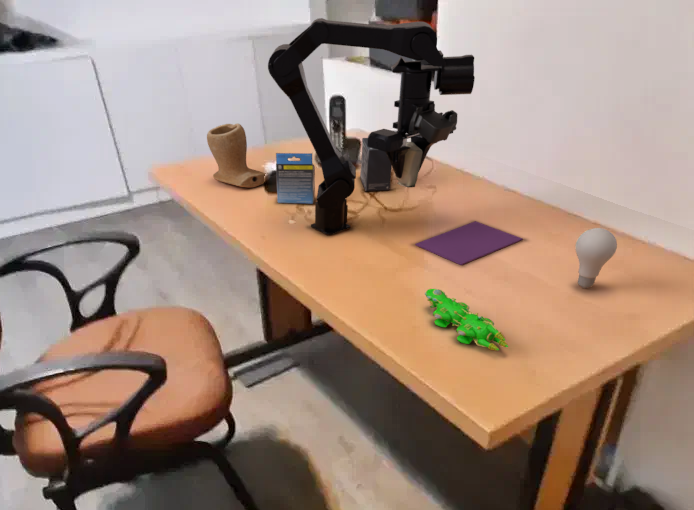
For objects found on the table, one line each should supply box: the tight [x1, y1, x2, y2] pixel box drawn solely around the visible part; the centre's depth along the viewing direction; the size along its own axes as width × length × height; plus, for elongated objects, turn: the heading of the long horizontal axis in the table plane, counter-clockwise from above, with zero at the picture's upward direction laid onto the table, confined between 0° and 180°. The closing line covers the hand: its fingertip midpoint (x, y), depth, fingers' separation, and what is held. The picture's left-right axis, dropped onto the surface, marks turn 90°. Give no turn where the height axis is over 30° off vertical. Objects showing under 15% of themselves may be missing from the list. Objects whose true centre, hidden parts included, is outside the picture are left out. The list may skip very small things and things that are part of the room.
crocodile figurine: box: [424, 288, 509, 352], centre depth 100 cm, size 7×18×4 cm, turn 24°
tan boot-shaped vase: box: [206, 123, 267, 188], centre depth 162 cm, size 15×12×15 cm
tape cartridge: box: [275, 152, 316, 205], centre depth 150 cm, size 9×4×12 cm, turn 76°
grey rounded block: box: [394, 141, 423, 189], centre depth 128 cm, size 6×5×8 cm
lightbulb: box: [574, 227, 618, 289], centre depth 107 cm, size 6×6×11 cm
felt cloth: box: [414, 220, 524, 266], centre depth 128 cm, size 18×12×1 cm, turn 122°
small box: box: [359, 137, 393, 192], centre depth 156 cm, size 11×6×10 cm, turn 179°
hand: (407, 174), depth 129 cm, fingers closed on grey rounded block, 5 cm apart
